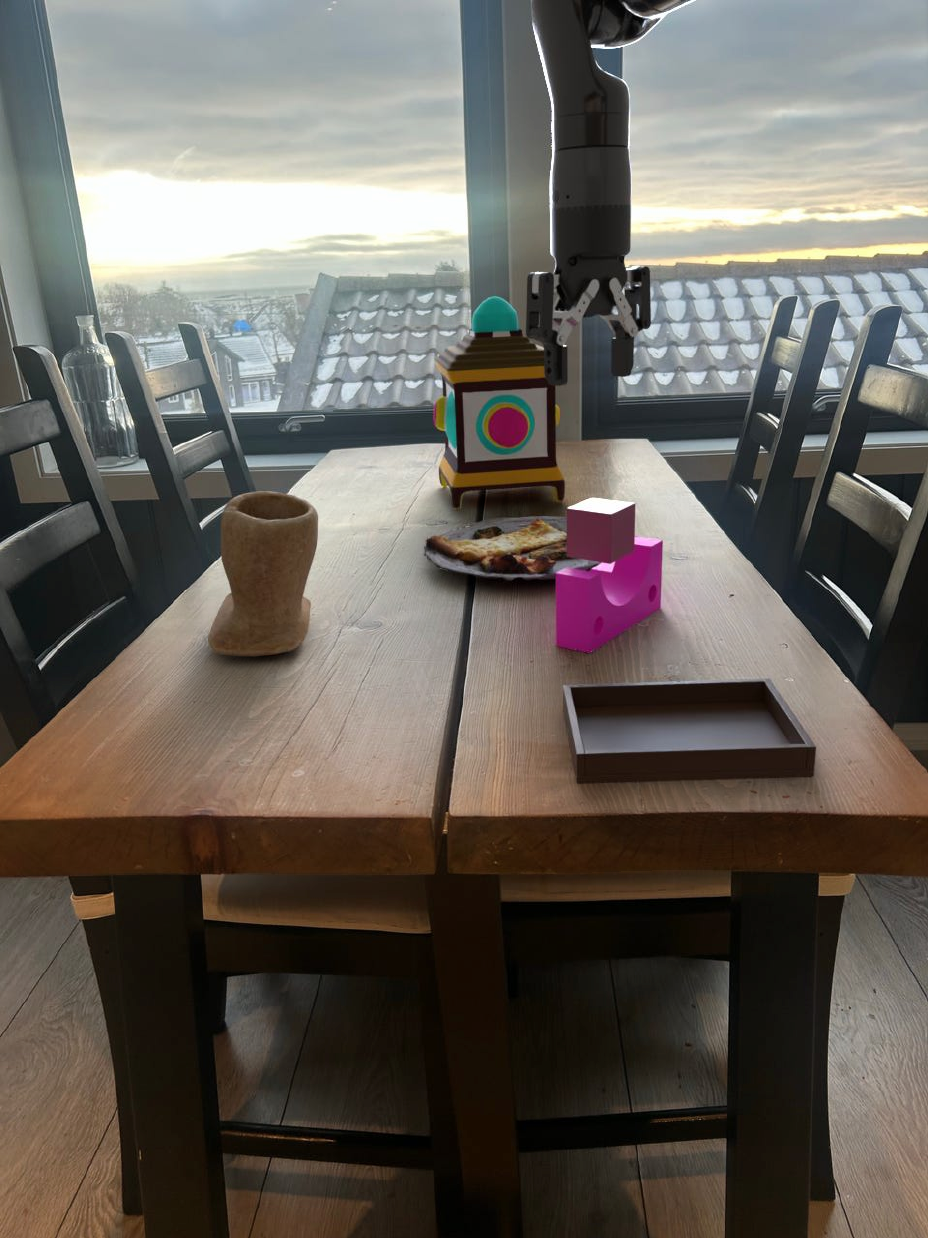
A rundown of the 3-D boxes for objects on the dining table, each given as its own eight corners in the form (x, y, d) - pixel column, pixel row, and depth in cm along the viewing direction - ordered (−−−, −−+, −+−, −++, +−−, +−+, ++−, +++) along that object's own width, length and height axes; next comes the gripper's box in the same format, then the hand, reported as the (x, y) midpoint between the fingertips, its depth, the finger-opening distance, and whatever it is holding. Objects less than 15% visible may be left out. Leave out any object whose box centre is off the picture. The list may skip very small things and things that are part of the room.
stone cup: (323, 662, 96) (309, 510, 91) (199, 668, 96) (178, 517, 91) (335, 609, 111) (324, 475, 105) (227, 614, 110) (210, 480, 105)
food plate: (479, 605, 110) (478, 575, 109) (394, 555, 129) (392, 528, 128) (662, 566, 120) (663, 538, 119) (558, 525, 140) (557, 500, 139)
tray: (767, 704, 84) (769, 678, 83) (813, 776, 73) (816, 747, 72) (562, 710, 84) (562, 684, 84) (576, 783, 73) (576, 754, 72)
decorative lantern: (575, 504, 151) (575, 295, 140) (445, 513, 148) (435, 302, 138) (547, 476, 169) (545, 290, 159) (430, 484, 167) (421, 296, 157)
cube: (634, 551, 101) (635, 502, 99) (610, 564, 97) (611, 514, 96) (591, 544, 104) (591, 497, 102) (566, 556, 100) (566, 508, 98)
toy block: (609, 597, 111) (610, 532, 108) (660, 607, 107) (662, 540, 104) (534, 640, 100) (533, 568, 97) (589, 653, 96) (589, 579, 93)
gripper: (559, 201, 87) (561, 391, 92) (673, 200, 94) (668, 375, 100) (505, 206, 92) (510, 385, 98) (617, 204, 100) (615, 370, 106)
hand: (590, 380), depth 99 cm, fingers open, 8 cm apart
